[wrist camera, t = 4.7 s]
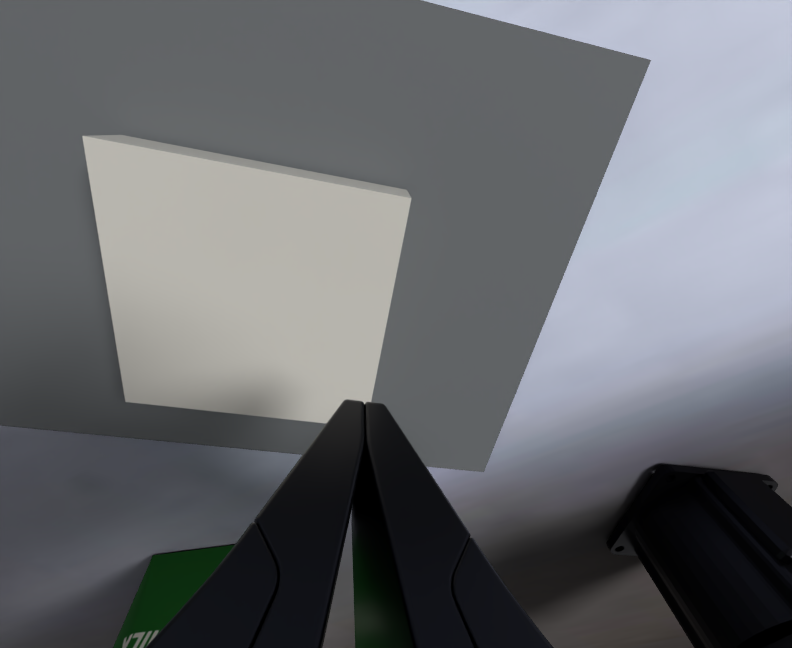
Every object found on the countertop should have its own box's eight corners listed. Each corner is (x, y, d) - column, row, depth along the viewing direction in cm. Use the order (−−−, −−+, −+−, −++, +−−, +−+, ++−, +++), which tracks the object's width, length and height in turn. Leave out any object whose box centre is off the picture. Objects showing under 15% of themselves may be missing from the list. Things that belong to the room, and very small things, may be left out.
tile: (366, 427, 14) (125, 401, 13) (366, 396, 15) (153, 371, 14) (411, 198, 10) (82, 135, 9) (406, 188, 12) (126, 134, 11)
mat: (480, 461, 18) (483, 472, 17) (11, 414, 15) (-2, 425, 15) (637, 63, 11) (650, 60, 10) (-178, -146, 8) (-216, -165, 8)
